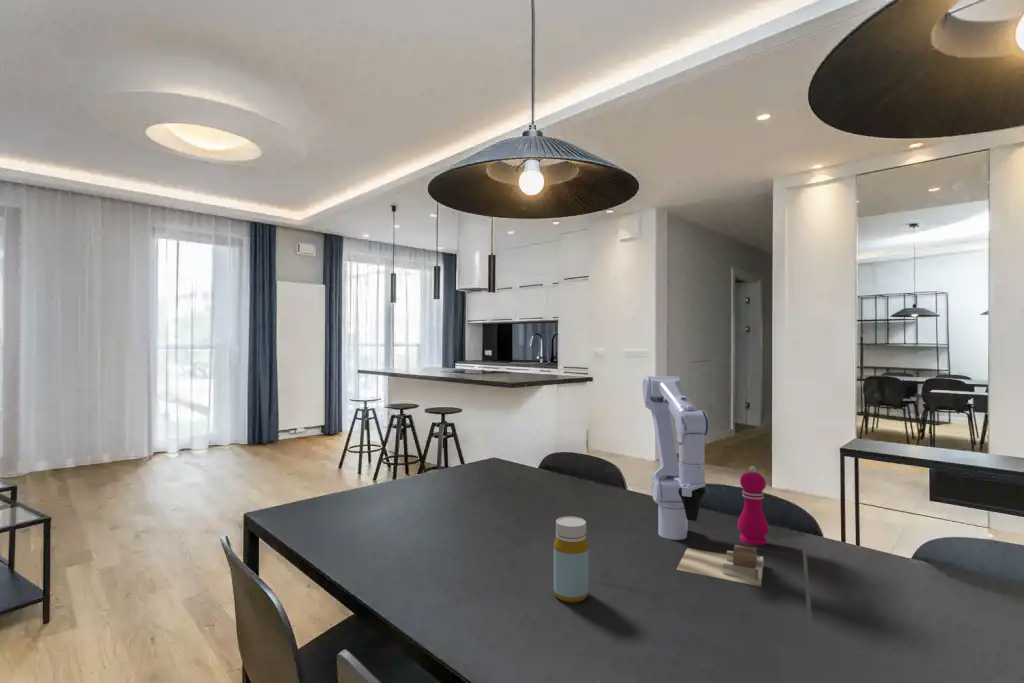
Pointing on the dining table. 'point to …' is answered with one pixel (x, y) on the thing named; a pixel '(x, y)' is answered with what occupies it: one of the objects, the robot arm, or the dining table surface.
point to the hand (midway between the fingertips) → (691, 519)
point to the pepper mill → (753, 509)
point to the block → (745, 556)
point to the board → (720, 566)
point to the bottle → (571, 560)
